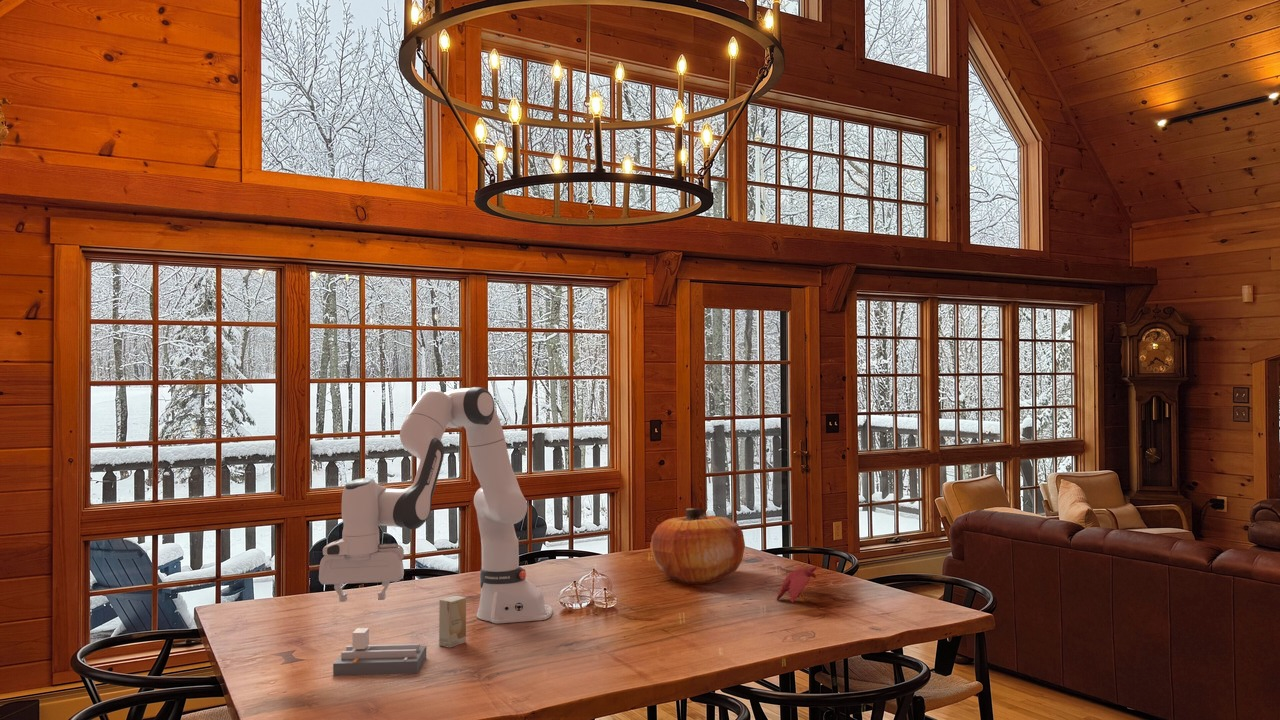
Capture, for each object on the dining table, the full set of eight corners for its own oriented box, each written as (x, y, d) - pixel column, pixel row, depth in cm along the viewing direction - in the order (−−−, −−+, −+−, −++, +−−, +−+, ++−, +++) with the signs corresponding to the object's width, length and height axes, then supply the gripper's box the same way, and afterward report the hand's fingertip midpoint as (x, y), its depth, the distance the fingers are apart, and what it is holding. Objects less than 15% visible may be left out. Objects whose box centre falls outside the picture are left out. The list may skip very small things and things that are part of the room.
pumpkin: (658, 567, 324) (654, 501, 324) (747, 565, 320) (743, 498, 319) (647, 593, 292) (642, 520, 291) (746, 591, 287) (741, 517, 286)
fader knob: (371, 651, 217) (371, 627, 217) (367, 656, 213) (366, 632, 213) (354, 651, 217) (354, 628, 217) (350, 656, 213) (350, 633, 213)
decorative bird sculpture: (784, 627, 260) (818, 592, 257) (761, 604, 262) (795, 570, 259) (798, 603, 287) (829, 572, 284) (777, 583, 289) (807, 551, 286)
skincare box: (450, 648, 229) (450, 602, 229) (438, 645, 231) (438, 600, 232) (467, 642, 235) (466, 596, 235) (455, 639, 237) (455, 594, 237)
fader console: (426, 657, 222) (426, 639, 222) (417, 673, 210) (416, 654, 210) (347, 659, 221) (347, 641, 221) (333, 676, 209) (333, 657, 209)
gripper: (406, 540, 219) (407, 595, 219) (323, 543, 218) (325, 598, 218) (400, 545, 213) (402, 601, 213) (315, 549, 212) (317, 605, 211)
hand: (362, 600), depth 215 cm, fingers open, 8 cm apart
